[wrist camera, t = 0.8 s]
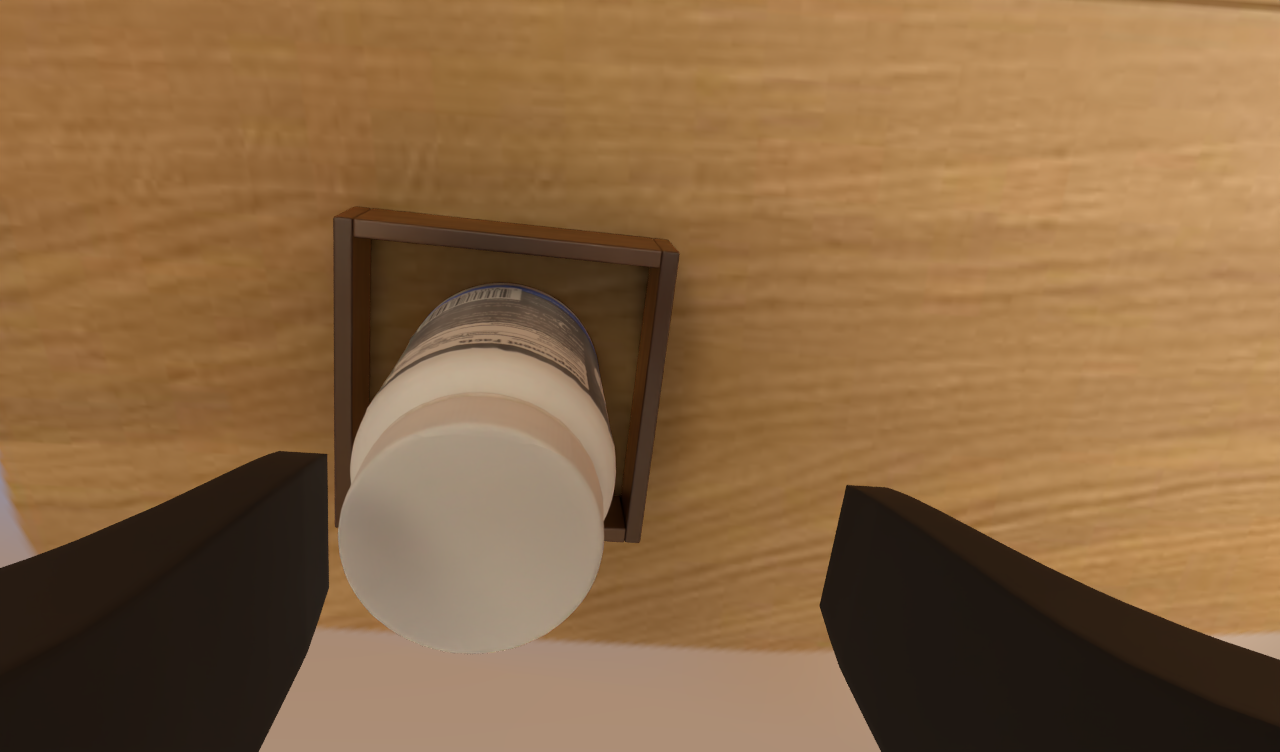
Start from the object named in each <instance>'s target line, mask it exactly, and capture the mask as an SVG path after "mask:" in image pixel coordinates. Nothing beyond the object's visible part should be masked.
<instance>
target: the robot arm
mask: <svg viewBox="0 0 1280 752" xmlns="http://www.w3.org/2000/svg"><path fill="white" fill-rule="evenodd" d="M328 589H329V560H328V480H327V454H318V453H301V452H285V451H278V452H275V453H271V454H268V455H266V456H263V457H261V458H258V459H256V460H254V461H251V462H249V463H247V464H245V465H242V466H240V467H238V468H236V469H234V470H232V471H230V472H228V473H225V474H223V475H221V476H219V477H217V478H215V479H213V480H211V481H209V482H207V483H204V484H202V485H200V486H198V487H196V488H194V489H192V490H190V491H188V492H185V493H183V494H181V495H179V496H177V497H175V498H173V499H171V500H169V501H166V502H164V503H162V504H160V505H158V506H156V507H153V508H151V509H149V510H146V511H144V512H142V513H139V514H137V515H135V516H132V517H130V518H128V519H125V520H123V521H121V522H118V523H116V524H114V525H111V526H109V527H107V528H104V529H102V530H100V531H97V532H95V533H93V534H90V535H88V536H86V537H83V538H81V539H79V540H76V541H74V542H71V543H68V544H66V545H63V546H61V547H58V548H56V549H53V550H50V551H47V552H45V553H42V554H39V555H37V556H34V557H31V558H28V559H26V560H23V561H20V562H17V563H14V564H11V565H8V566H5V567H2V568H0V752H259V750H260V748H261V745H262V744H263V742H264V740H265V737H266V736H267V734H268V732H269V729H270V728H271V726H272V723H273V722H274V720H275V718H276V716H277V714H278V712H279V710H280V708H281V705H282V703H283V702H284V700H285V697H286V695H287V693H288V691H289V689H290V687H291V685H292V683H293V681H294V679H295V677H296V675H297V673H298V671H299V669H300V667H301V665H302V663H303V660H304V658H305V656H306V654H307V652H308V649H309V646H310V643H311V640H312V637H313V635H314V632H315V629H316V626H317V623H318V620H319V617H320V614H321V611H322V607H323V604H324V601H325V598H326V595H327V592H328ZM820 609H821V612H822V615H823V619H824V622H825V625H826V628H827V632H828V635H829V638H830V641H831V644H832V647H833V650H834V653H835V655H836V658H837V661H838V664H839V667H840V669H841V671H842V673H843V675H844V677H845V680H846V682H847V684H848V686H849V688H850V690H851V692H852V694H853V696H854V698H855V700H856V702H857V704H858V706H859V708H860V710H861V712H862V714H863V716H864V718H865V720H866V722H867V724H868V726H869V728H870V730H871V732H872V734H873V736H874V738H875V740H876V742H877V744H878V746H879V748H880V750H881V752H1280V660H1279V659H1275V658H1272V657H1269V656H1266V655H1264V654H1261V653H1258V652H1255V651H1251V650H1249V649H1246V648H1243V647H1240V646H1237V645H1234V644H1230V643H1228V642H1225V641H1222V640H1219V639H1216V638H1214V637H1211V636H1208V635H1205V634H1203V633H1200V632H1197V631H1195V630H1192V629H1189V628H1187V627H1184V626H1181V625H1179V624H1176V623H1174V622H1171V621H1169V620H1166V619H1164V618H1162V617H1159V616H1157V615H1154V614H1152V613H1149V612H1147V611H1144V610H1142V609H1139V608H1137V607H1134V606H1132V605H1129V604H1127V603H1124V602H1122V601H1120V600H1118V599H1115V598H1113V597H1111V596H1109V595H1106V594H1104V593H1102V592H1099V591H1097V590H1095V589H1093V588H1091V587H1089V586H1087V585H1085V584H1082V583H1080V582H1078V581H1076V580H1074V579H1072V578H1070V577H1068V576H1066V575H1064V574H1061V573H1059V572H1057V571H1055V570H1053V569H1051V568H1049V567H1047V566H1045V565H1043V564H1041V563H1039V562H1037V561H1035V560H1033V559H1031V558H1029V557H1027V556H1025V555H1023V554H1021V553H1019V552H1017V551H1015V550H1013V549H1011V548H1009V547H1008V546H1006V545H1004V544H1002V543H1000V542H998V541H996V540H994V539H992V538H990V537H988V536H987V535H985V534H983V533H981V532H979V531H977V530H975V529H973V528H971V527H970V526H968V525H966V524H964V523H962V522H960V521H958V520H956V519H954V518H952V517H951V516H949V515H947V514H945V513H943V512H941V511H939V510H937V509H935V508H933V507H931V506H929V505H927V504H925V503H923V502H921V501H919V500H917V499H915V498H912V497H910V496H908V495H906V494H903V493H901V492H898V491H895V490H892V489H890V488H886V487H869V486H852V485H847V486H846V490H845V495H844V499H843V504H842V508H841V512H840V517H839V521H838V526H837V530H836V535H835V539H834V544H833V548H832V553H831V557H830V562H829V566H828V571H827V575H826V579H825V584H824V588H823V593H822V597H821V602H820Z"/></svg>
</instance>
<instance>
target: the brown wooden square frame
mask: <svg viewBox="0 0 1280 752" xmlns="http://www.w3.org/2000/svg"><path fill="white" fill-rule="evenodd" d="M333 238H334V453H335V527H337V528H339V520H340V514H341V509H342V506H343V503H344V500H345V497H346V494H347V492H348V490H349V488H350V486H351V478H350V463H351V455H352V449H353V445H354V441H355V437H356V434H357V432H358V429H359V427H360V424H361V422H362V420H363V418H364V416H365V413H366V410H367V407H368V406H369V378H370V284H371V239H377V240H387V241H397V242H407V243H417V244H427V245H437V246H447V247H456V248H466V249H476V250H486V251H496V252H506V253H516V254H526V255H536V256H546V257H555V258H565V259H575V260H585V261H595V262H605V263H615V264H625V265H635V266H645V267H649V274H648V282H647V290H646V298H645V306H644V314H643V322H642V330H641V338H640V346H639V354H638V362H637V370H636V378H635V386H634V393H633V401H632V409H631V417H630V425H629V433H628V441H627V449H626V457H625V465H624V473H623V481H622V489H621V497H620V496H616V495H613V497H612V501H611V504H610V507H609V510H608V513H607V515H606V517H605V519H604V521H603V522H604V541H610V542H624V540H625V542H630V543H639V542H640V539H641V532H642V524H643V517H644V510H645V503H646V495H647V488H648V481H649V473H650V466H651V459H652V452H653V444H654V437H655V430H656V423H657V415H658V408H659V401H660V393H661V386H662V379H663V372H664V364H665V357H666V350H667V342H668V335H669V328H670V321H671V313H672V306H673V299H674V292H675V284H676V277H677V270H678V262H679V255H680V254H679V252H678V251H677V250H676V248H675V247H674V246H673V245H672V244H671V243H670V242H669V240H666V239H656V238H655V239H652V238H647V237H638V236H628V235H619V234H609V233H600V232H590V231H581V230H572V229H562V228H553V227H543V226H534V225H525V224H515V223H506V222H496V221H487V220H478V219H468V218H459V217H449V216H440V215H431V214H421V213H412V212H402V211H393V210H384V209H374V208H373V209H370V208H365V207H353V208H351V209H349V210H347V211H345V212H343V213H341V214H339V215H337V216H335V217H334V218H333Z"/></svg>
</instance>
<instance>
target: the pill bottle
mask: <svg viewBox="0 0 1280 752" xmlns="http://www.w3.org/2000/svg"><path fill="white" fill-rule="evenodd" d="M350 478H351V486H350V488H349V490H348V492H347V494H346V497H345V500H344V503H343V506H342V509H341V514H340V520H339V528H338V542H339V552H340V558H341V562H342V565H343V569H344V572H345V575H346V577H347V579H348V582H349V584H350V586H351V587H352V589H353V591H354V593H355V594H356V596H357V597H358V599H359V600H360V601H361V603H362V604H363V605H364V606H365V608H366V609H367V610H368V611H369V612H370V613H371V614H372V615H373V616H374V617H375V618H376V619H377V620H379V621H380V622H381V623H383V624H384V625H385V626H386V627H388V628H389V629H390V630H392V631H394V632H395V633H397V634H398V635H400V636H402V637H404V638H406V639H408V640H410V641H412V642H415V643H417V644H420V645H422V646H425V647H428V648H432V649H435V650H440V651H445V652H450V653H464V654H484V653H493V652H499V651H504V650H508V649H513V648H516V647H519V646H522V645H525V644H527V643H529V642H531V641H533V640H535V639H537V638H539V637H541V636H543V635H545V634H547V633H548V632H550V631H551V630H553V629H554V628H555V627H557V626H558V625H560V624H561V623H562V622H563V621H564V620H565V619H566V618H567V617H568V616H569V615H571V614H572V613H573V612H574V611H575V609H576V608H577V607H578V606H579V605H580V603H581V602H582V601H583V599H584V598H585V596H586V595H587V593H588V592H589V590H590V589H591V587H592V584H593V582H594V580H595V578H596V576H597V573H598V570H599V566H600V562H601V559H602V554H603V549H604V522H603V521H604V519H605V517H606V515H607V513H608V510H609V507H610V504H611V501H612V497H613V493H614V487H615V478H616V456H615V446H614V442H613V438H612V433H611V429H610V424H609V418H608V414H607V409H606V402H605V398H604V394H603V388H602V383H601V377H600V372H599V366H598V361H597V356H596V352H595V349H594V346H593V343H592V341H591V339H590V336H589V335H588V333H587V331H586V329H585V328H584V326H583V324H582V323H581V322H580V320H579V319H578V318H577V317H576V315H575V314H574V313H573V312H572V311H571V310H570V309H569V308H567V307H566V306H565V305H564V304H563V303H561V302H560V301H559V300H557V299H555V298H554V297H552V296H550V295H548V294H547V293H544V292H542V291H540V290H537V289H535V288H531V287H528V286H524V285H520V284H513V283H489V284H483V285H478V286H475V287H471V288H468V289H466V290H463V291H461V292H459V293H457V294H454V295H453V296H451V297H449V298H448V299H446V300H445V301H443V302H442V303H441V304H439V305H438V306H437V307H436V308H435V309H434V310H433V311H432V312H431V313H430V314H429V315H428V317H427V318H426V319H425V320H424V321H423V323H422V324H421V325H420V326H419V328H418V329H417V331H416V332H415V333H414V335H413V336H412V337H411V338H410V341H409V344H408V346H407V348H406V349H405V351H404V352H403V354H402V355H401V357H400V359H399V361H398V362H397V364H396V365H395V366H394V368H393V370H392V371H391V373H390V374H389V376H388V377H387V379H386V380H385V382H384V384H383V385H382V387H381V388H380V390H379V391H378V393H377V394H376V395H375V397H374V398H373V400H372V402H371V403H370V405H369V406H368V407H367V410H366V413H365V416H364V418H363V420H362V422H361V424H360V427H359V429H358V432H357V434H356V437H355V441H354V445H353V449H352V455H351V463H350Z"/></svg>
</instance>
